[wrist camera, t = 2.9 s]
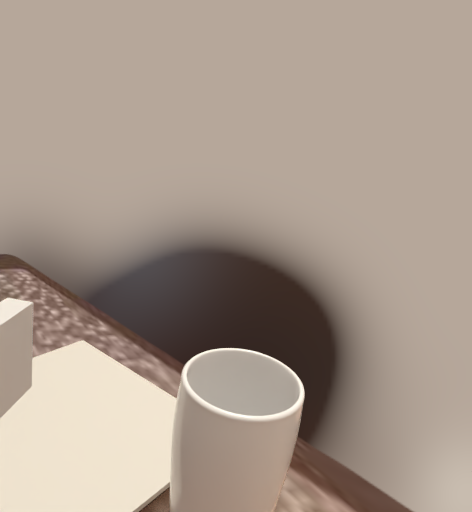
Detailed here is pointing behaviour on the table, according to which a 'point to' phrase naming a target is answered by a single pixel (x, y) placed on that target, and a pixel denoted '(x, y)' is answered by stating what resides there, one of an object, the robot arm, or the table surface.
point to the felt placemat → (85, 437)
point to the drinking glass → (233, 432)
